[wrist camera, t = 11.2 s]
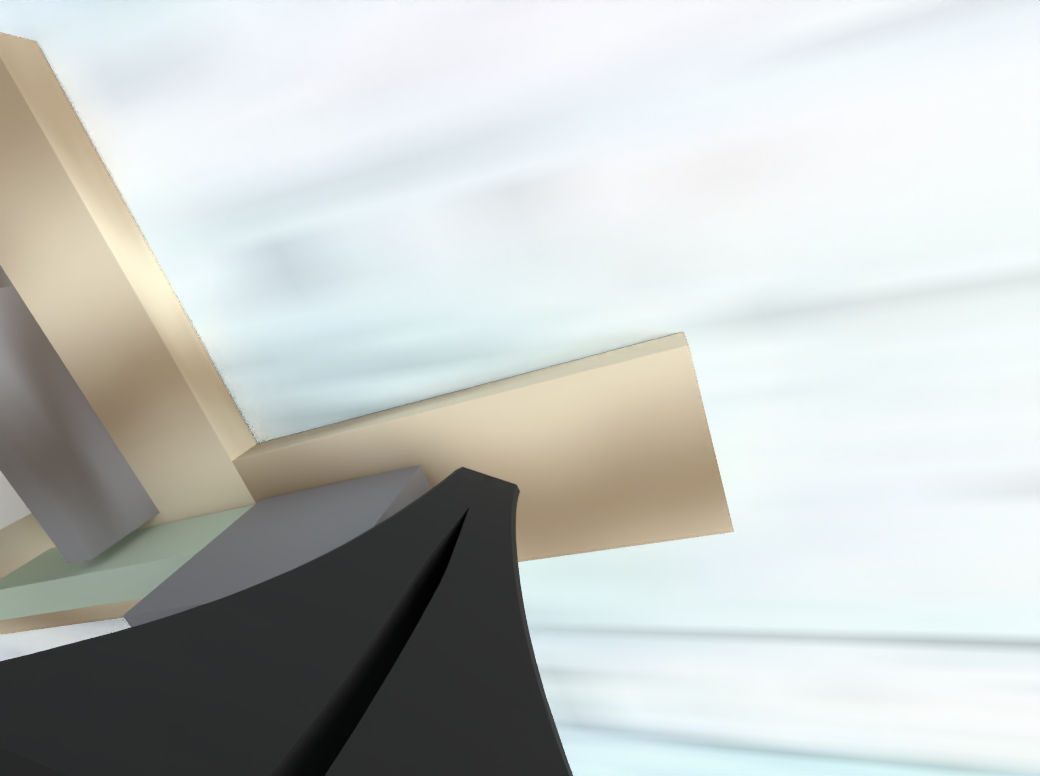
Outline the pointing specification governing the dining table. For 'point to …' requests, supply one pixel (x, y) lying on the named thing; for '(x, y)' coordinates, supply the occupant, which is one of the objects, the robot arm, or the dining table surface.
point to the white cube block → (10, 504)
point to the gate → (210, 551)
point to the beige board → (221, 428)
